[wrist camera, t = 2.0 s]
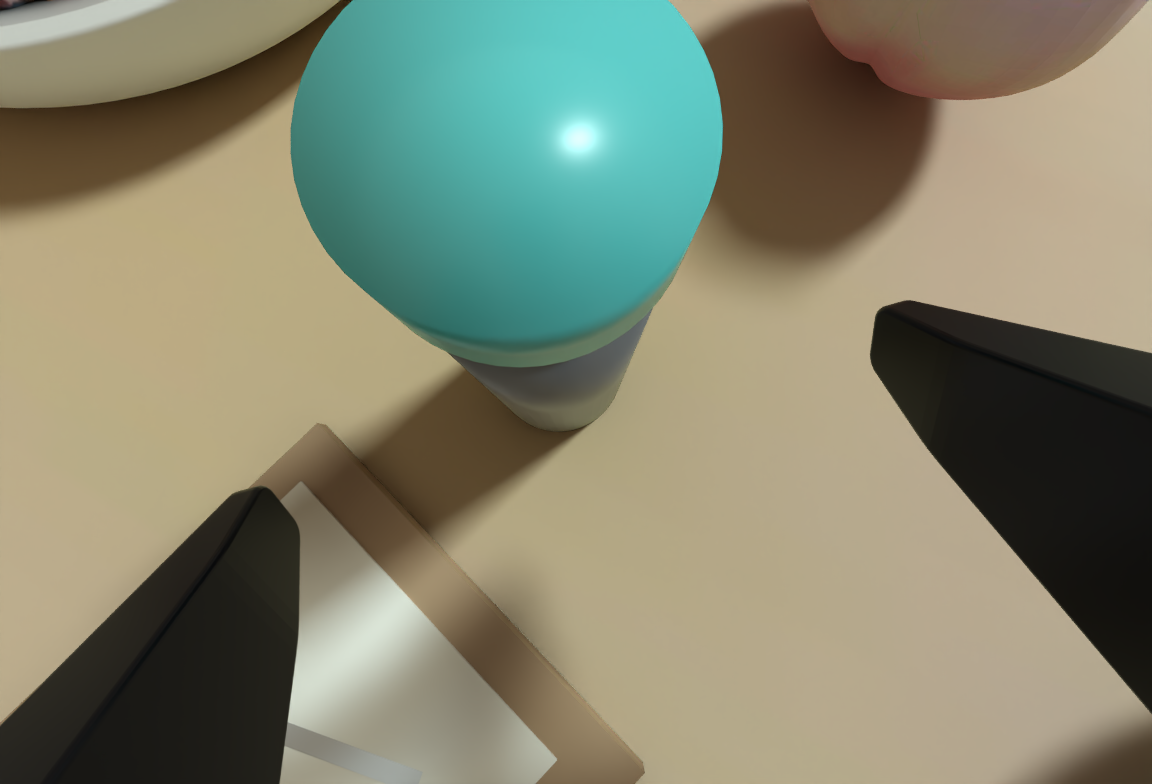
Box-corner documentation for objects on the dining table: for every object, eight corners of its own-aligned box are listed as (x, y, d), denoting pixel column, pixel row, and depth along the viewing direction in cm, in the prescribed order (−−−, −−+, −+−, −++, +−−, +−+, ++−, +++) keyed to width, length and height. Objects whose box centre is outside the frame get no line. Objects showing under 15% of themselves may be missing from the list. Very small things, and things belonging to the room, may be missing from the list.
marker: (650, 369, 18) (813, 123, 6) (558, 462, 18) (501, 431, 5) (559, 280, 19) (511, -136, 6) (466, 369, 18) (202, 127, 6)
